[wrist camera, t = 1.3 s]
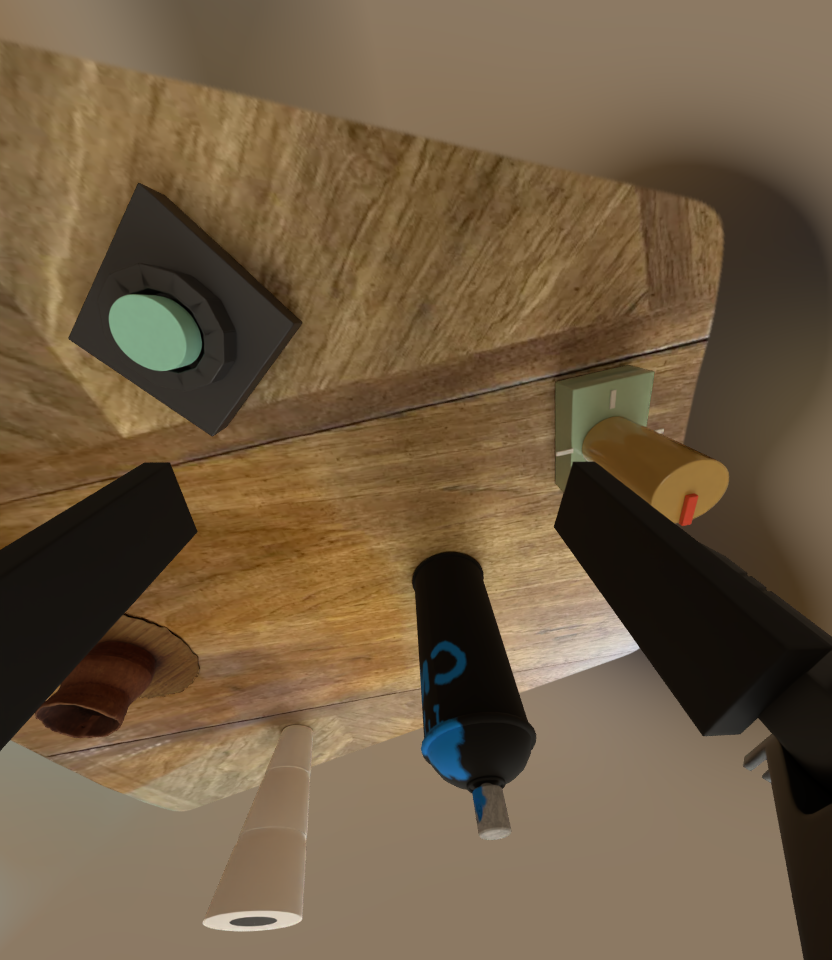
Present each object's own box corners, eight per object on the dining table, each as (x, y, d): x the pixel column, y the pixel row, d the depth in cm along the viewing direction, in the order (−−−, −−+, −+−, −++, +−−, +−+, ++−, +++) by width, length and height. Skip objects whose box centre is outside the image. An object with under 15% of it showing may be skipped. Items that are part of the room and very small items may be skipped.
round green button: (148, 278, 18) (125, 275, 16) (214, 332, 19) (198, 333, 18) (120, 333, 19) (96, 335, 18) (184, 379, 21) (167, 385, 19)
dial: (582, 423, 24) (661, 471, 17) (639, 410, 24) (744, 453, 17) (580, 471, 26) (649, 533, 19) (632, 460, 26) (724, 518, 19)
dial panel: (539, 385, 26) (556, 394, 23) (644, 360, 25) (675, 367, 22) (541, 486, 31) (556, 504, 28) (630, 467, 30) (654, 483, 27)
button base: (163, 194, 19) (111, 168, 15) (302, 322, 23) (285, 325, 19) (95, 336, 22) (39, 341, 19) (226, 427, 26) (199, 446, 23)
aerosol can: (495, 561, 35) (593, 813, 17) (465, 608, 39) (521, 857, 21) (427, 543, 33) (460, 804, 16) (402, 595, 37) (406, 854, 19)
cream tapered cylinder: (305, 753, 55) (267, 933, 39) (250, 734, 50) (184, 927, 35) (344, 729, 51) (321, 915, 36) (289, 707, 47) (236, 907, 32)
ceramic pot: (223, 687, 44) (194, 749, 38) (100, 703, 44) (52, 767, 38) (153, 600, 35) (101, 662, 29) (1, 622, 35) (-82, 688, 29)
